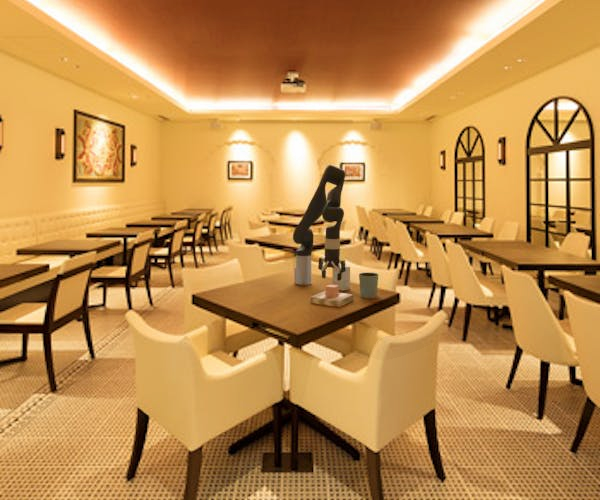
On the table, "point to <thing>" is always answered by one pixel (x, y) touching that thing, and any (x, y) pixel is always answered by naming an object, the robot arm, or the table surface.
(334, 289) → the terracotta cube
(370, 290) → the grey cylindrical piece
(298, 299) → the table surface
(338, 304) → the maple base
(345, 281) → the small box
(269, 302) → the table surface
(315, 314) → the table surface
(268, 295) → the table surface
